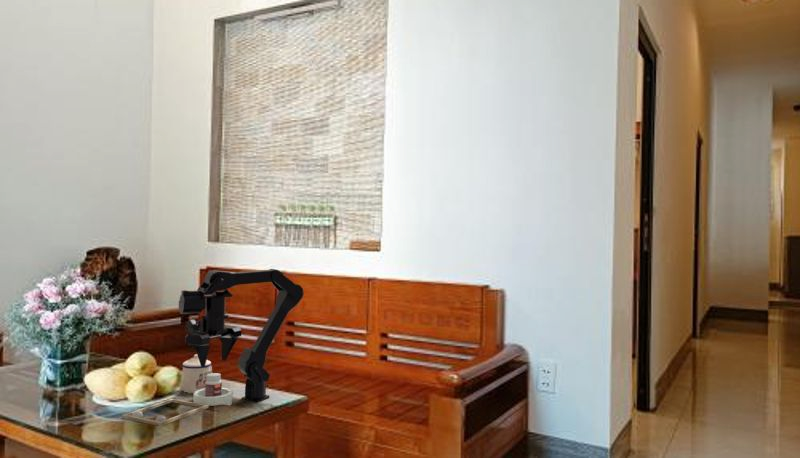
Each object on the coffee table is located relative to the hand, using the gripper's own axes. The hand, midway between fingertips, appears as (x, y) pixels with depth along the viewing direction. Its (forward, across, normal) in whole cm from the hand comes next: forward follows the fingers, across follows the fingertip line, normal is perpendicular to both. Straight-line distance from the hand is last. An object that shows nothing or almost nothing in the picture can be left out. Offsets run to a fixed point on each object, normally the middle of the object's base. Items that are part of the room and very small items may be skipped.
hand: (213, 363), depth 180 cm
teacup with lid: (+13, -12, -16) cm, 24 cm away
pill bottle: (+12, 0, 0) cm, 12 cm away
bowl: (+13, 0, 0) cm, 13 cm away
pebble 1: (+11, +22, -7) cm, 25 cm away
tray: (+13, +15, -3) cm, 20 cm away
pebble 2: (+11, +22, +1) cm, 24 cm away
